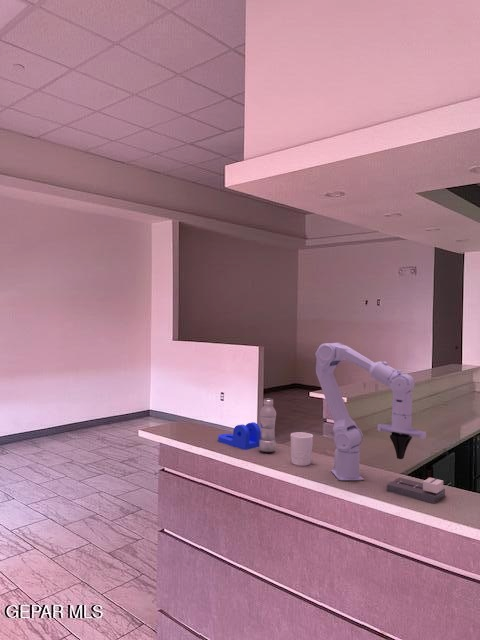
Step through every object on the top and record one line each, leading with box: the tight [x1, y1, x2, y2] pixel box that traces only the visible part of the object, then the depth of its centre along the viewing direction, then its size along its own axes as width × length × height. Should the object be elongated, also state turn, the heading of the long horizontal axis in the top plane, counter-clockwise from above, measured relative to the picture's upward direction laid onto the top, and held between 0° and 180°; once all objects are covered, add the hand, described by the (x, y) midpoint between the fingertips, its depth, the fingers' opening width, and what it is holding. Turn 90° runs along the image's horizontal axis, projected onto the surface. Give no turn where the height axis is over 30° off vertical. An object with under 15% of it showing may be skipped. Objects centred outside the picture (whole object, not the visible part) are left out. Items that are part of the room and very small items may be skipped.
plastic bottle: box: [258, 398, 277, 453], centre depth 186 cm, size 6×7×20 cm
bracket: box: [217, 421, 261, 451], centre depth 198 cm, size 18×8×9 cm, turn 45°
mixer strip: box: [386, 477, 446, 504], centre depth 146 cm, size 14×9×2 cm, turn 49°
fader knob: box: [422, 476, 444, 493], centre depth 143 cm, size 4×5×3 cm
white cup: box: [290, 431, 314, 467], centre depth 173 cm, size 8×8×10 cm
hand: (400, 458), depth 150 cm, fingers closed
